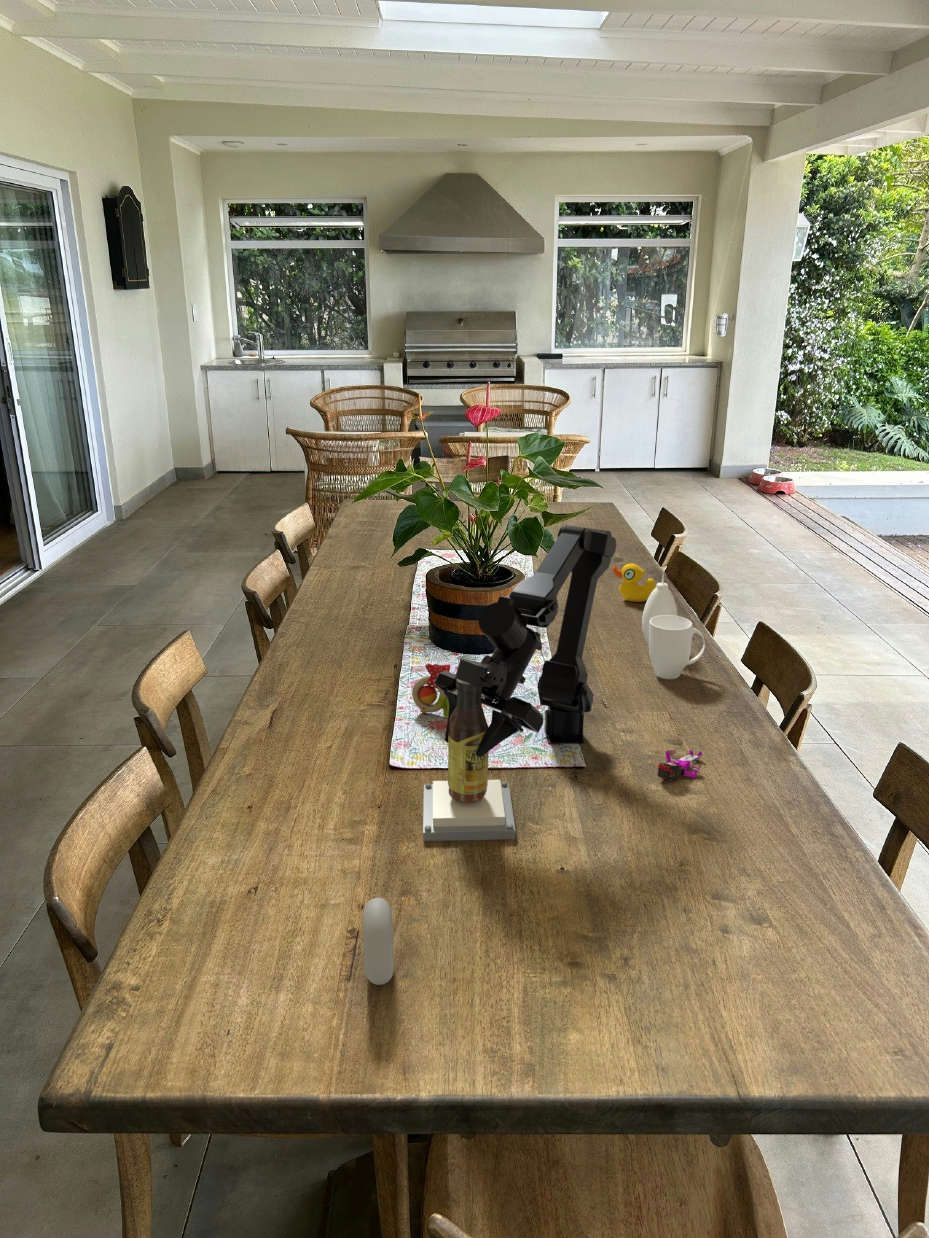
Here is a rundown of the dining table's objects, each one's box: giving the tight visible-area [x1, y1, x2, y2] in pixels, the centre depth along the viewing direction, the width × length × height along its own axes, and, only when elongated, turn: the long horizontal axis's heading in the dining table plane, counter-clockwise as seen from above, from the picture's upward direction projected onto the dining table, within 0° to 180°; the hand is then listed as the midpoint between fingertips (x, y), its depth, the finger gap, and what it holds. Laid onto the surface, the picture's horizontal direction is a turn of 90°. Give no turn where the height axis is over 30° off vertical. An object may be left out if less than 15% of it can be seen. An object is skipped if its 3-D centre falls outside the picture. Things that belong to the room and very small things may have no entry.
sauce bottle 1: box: [447, 679, 489, 803], centre depth 141 cm, size 7×6×20 cm
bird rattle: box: [411, 663, 452, 718], centre depth 178 cm, size 6×11×9 cm
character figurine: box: [657, 748, 703, 782], centre depth 157 cm, size 6×5×12 cm
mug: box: [648, 615, 706, 680], centre depth 195 cm, size 12×9×12 cm
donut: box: [362, 897, 395, 986], centre depth 111 cm, size 10×4×10 cm, turn 4°
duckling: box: [612, 562, 657, 603], centre depth 239 cm, size 11×5×10 cm, turn 70°
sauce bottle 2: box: [641, 572, 678, 644], centre depth 208 cm, size 8×8×18 cm
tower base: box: [422, 779, 516, 842], centre depth 145 cm, size 14×14×3 cm
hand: (461, 748), depth 141 cm, fingers closed on sauce bottle 1, 6 cm apart
